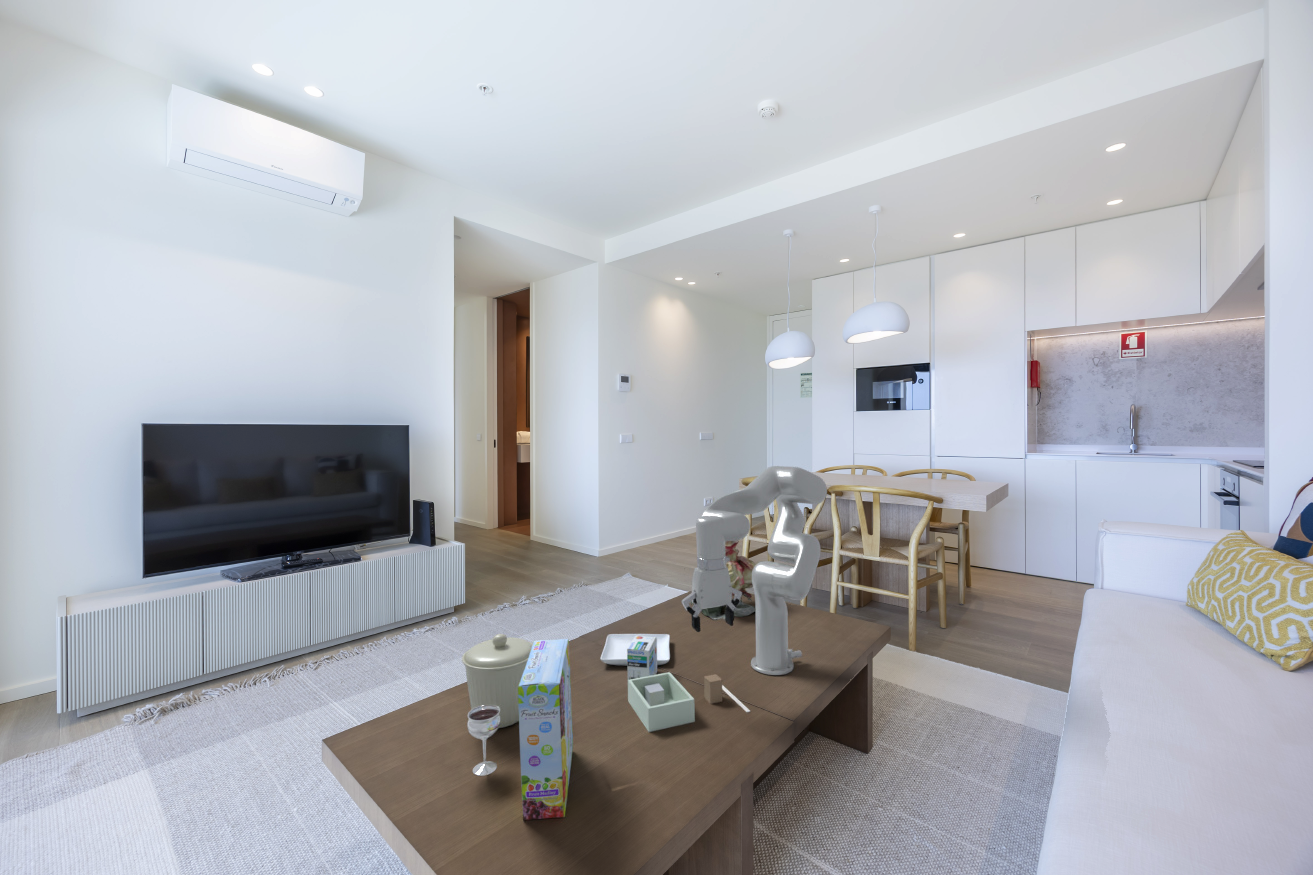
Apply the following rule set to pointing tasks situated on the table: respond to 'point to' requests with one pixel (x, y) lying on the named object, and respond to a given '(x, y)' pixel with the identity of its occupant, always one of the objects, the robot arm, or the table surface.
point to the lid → (717, 691)
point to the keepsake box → (664, 715)
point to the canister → (497, 674)
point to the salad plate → (620, 642)
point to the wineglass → (484, 732)
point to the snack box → (545, 730)
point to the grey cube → (654, 694)
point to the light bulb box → (642, 657)
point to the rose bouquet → (735, 582)
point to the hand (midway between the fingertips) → (713, 627)
